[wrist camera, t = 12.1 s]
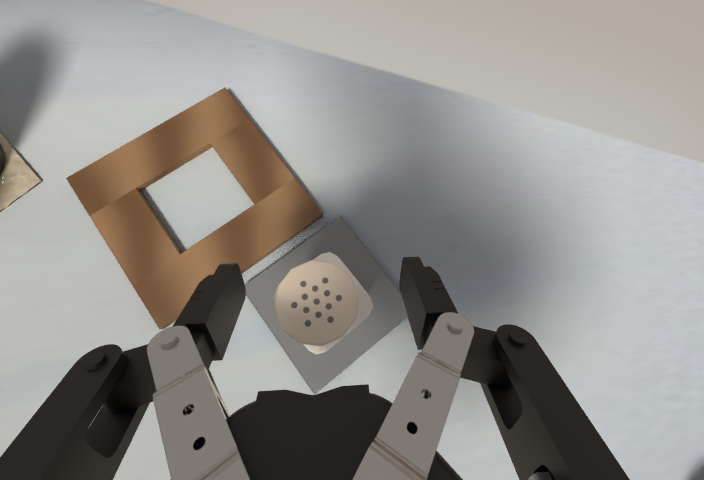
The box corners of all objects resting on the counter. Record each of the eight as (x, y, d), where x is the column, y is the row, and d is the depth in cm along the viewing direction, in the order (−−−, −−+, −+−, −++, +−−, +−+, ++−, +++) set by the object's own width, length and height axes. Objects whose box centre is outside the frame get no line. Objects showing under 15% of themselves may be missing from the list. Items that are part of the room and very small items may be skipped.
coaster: (315, 391, 19) (314, 394, 18) (244, 287, 20) (241, 287, 19) (412, 310, 20) (414, 310, 19) (340, 218, 21) (340, 216, 21)
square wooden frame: (164, 328, 19) (159, 329, 18) (72, 181, 21) (66, 178, 20) (323, 215, 21) (322, 213, 21) (227, 91, 23) (224, 87, 23)
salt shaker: (289, 296, 19) (241, 293, 10) (333, 262, 20) (326, 229, 11) (323, 341, 19) (305, 383, 9) (367, 305, 19) (391, 309, 10)
